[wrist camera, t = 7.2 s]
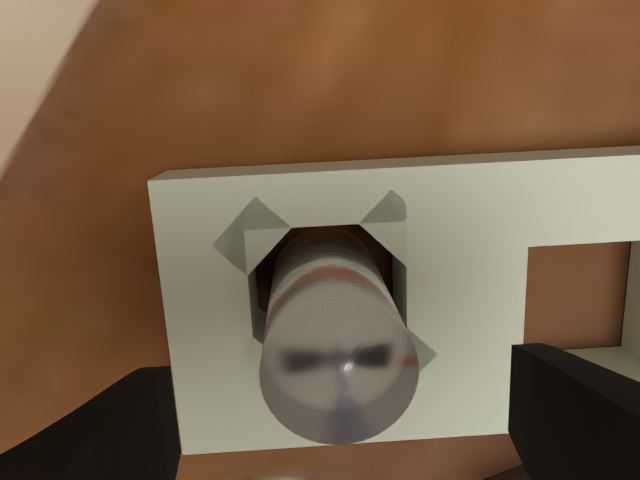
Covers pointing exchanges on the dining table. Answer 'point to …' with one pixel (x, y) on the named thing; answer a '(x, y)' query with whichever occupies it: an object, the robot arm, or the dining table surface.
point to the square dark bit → (511, 474)
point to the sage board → (408, 274)
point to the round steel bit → (334, 342)
